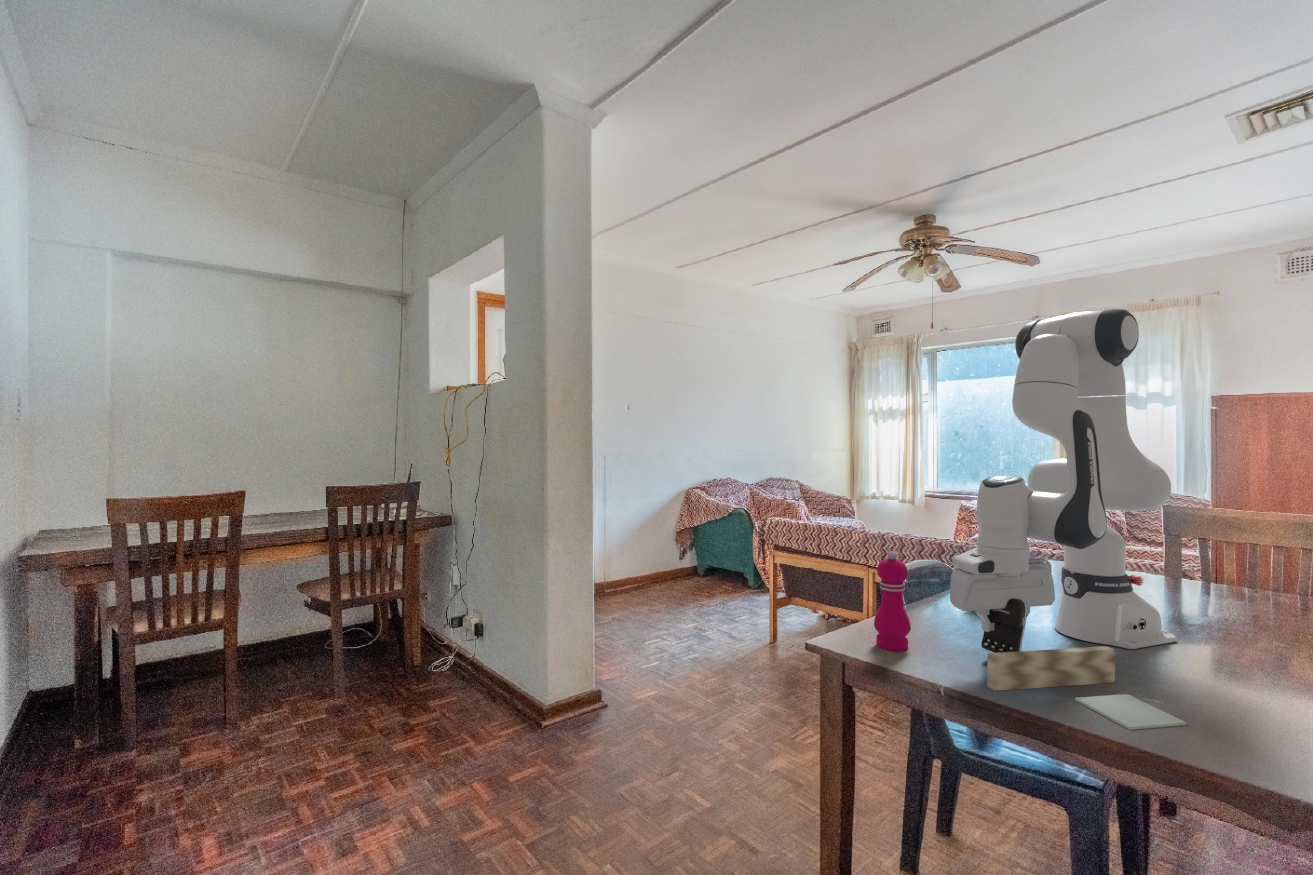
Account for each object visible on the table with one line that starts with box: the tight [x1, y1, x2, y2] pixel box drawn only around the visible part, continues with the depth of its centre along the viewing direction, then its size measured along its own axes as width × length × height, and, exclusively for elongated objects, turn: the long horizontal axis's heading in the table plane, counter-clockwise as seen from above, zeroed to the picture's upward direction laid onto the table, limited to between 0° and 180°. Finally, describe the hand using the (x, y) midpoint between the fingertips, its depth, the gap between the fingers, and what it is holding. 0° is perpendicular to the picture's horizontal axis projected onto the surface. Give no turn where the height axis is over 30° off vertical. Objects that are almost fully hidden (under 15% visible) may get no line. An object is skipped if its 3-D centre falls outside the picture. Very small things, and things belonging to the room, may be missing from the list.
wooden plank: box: [986, 645, 1116, 692], centre depth 106 cm, size 24×2×6 cm, turn 98°
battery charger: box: [980, 598, 1028, 653], centre depth 116 cm, size 7×4×11 cm, turn 35°
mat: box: [1074, 693, 1188, 731], centre depth 96 cm, size 10×10×1 cm
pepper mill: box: [873, 551, 912, 652], centre depth 125 cm, size 7×7×20 cm
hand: (1002, 629), depth 116 cm, fingers closed on battery charger, 5 cm apart
